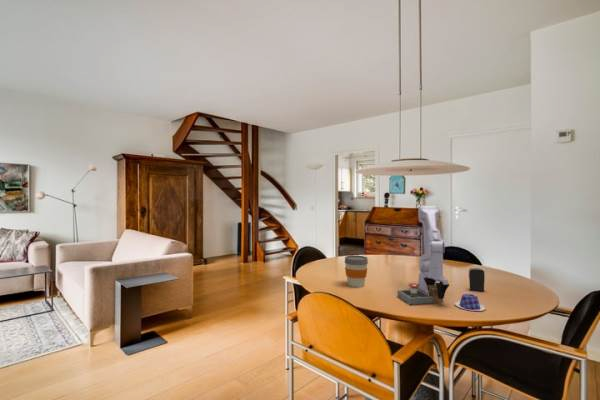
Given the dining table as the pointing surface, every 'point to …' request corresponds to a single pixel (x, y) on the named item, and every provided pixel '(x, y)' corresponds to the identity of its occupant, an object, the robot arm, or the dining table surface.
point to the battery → (476, 279)
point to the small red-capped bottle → (413, 290)
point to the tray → (419, 300)
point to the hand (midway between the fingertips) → (435, 295)
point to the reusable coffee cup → (356, 270)
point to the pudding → (470, 303)
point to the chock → (434, 293)
